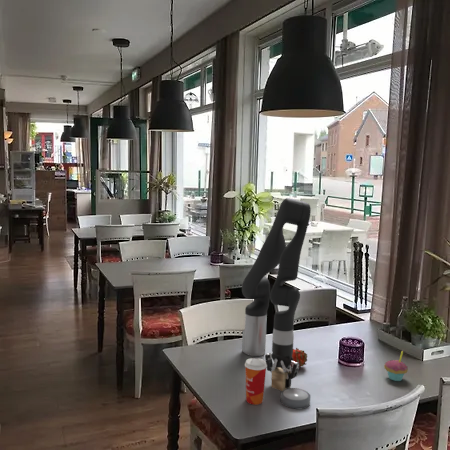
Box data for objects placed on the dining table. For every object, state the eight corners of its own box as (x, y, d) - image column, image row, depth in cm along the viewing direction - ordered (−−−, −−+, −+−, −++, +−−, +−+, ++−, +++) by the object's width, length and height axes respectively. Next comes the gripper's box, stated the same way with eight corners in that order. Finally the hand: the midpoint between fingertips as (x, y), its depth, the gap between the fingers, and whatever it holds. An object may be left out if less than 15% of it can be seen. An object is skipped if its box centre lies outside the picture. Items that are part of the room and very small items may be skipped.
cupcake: (406, 376, 192) (409, 346, 191) (407, 385, 184) (409, 354, 183) (383, 372, 195) (385, 343, 194) (383, 381, 187) (385, 350, 186)
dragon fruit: (309, 370, 198) (282, 377, 195) (301, 352, 204) (274, 359, 201) (313, 359, 193) (285, 366, 189) (305, 341, 198) (277, 347, 195)
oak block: (271, 387, 179) (271, 371, 178) (279, 382, 183) (279, 367, 182) (282, 391, 176) (283, 375, 175) (290, 386, 180) (291, 371, 179)
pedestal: (274, 401, 168) (275, 394, 168) (290, 392, 176) (291, 384, 175) (300, 411, 162) (300, 404, 161) (315, 401, 169) (315, 393, 169)
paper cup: (241, 395, 172) (243, 357, 170) (263, 395, 172) (265, 357, 171) (244, 406, 164) (246, 366, 162) (267, 406, 165) (269, 366, 163)
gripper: (305, 342, 176) (303, 388, 178) (272, 333, 185) (270, 376, 187) (294, 348, 170) (292, 395, 172) (260, 338, 179) (258, 382, 181)
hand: (280, 385), depth 179 cm, fingers closed on oak block, 5 cm apart
